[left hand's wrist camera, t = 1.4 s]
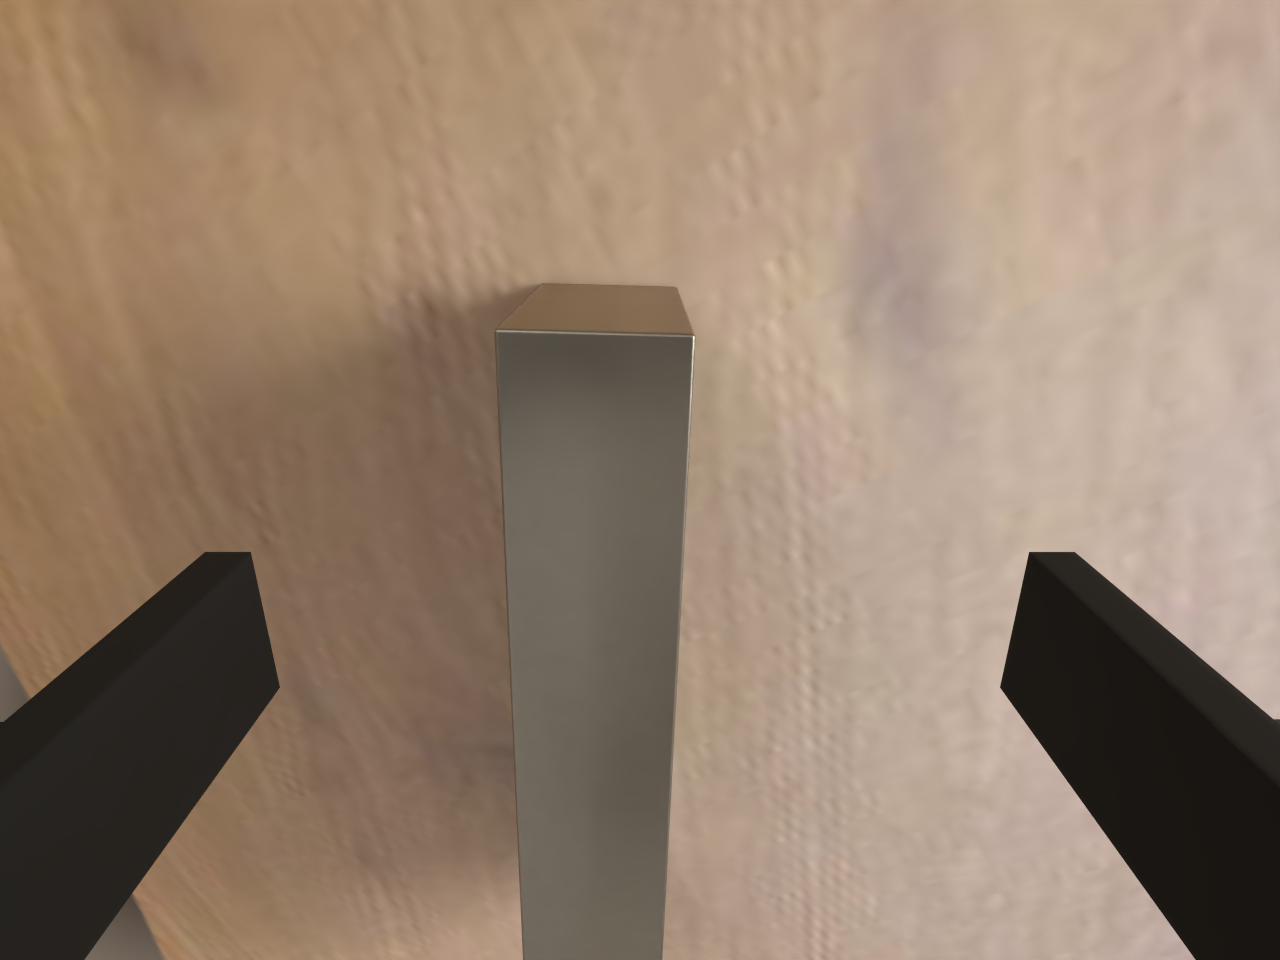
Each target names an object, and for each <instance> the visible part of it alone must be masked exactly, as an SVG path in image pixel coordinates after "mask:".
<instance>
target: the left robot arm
mask: <svg viewBox="0 0 1280 960" xmlns="http://www.w3.org/2000/svg"><path fill="white" fill-rule="evenodd" d="M279 688H280V686H279V681H278V677H277V672H276V667H275V663H274V658H273V653H272V649H271V644H270V639H269V635H268V630H267V626H266V621H265V616H264V612H263V607H262V602H261V598H260V593H259V588H258V584H257V579H256V574H255V570H254V565H253V560H252V556H251V552H205V553H204V554H202V555H201V556H200V557H199V558H198V559H197V560H195V561H194V562H193V563H192V564H191V565H189V566H188V567H187V568H186V569H185V570H183V571H182V572H181V573H180V574H179V575H178V576H176V577H175V578H174V579H173V580H172V581H170V582H169V583H168V584H167V585H166V586H164V587H163V588H162V589H161V590H160V591H159V592H157V593H156V594H155V595H154V596H153V597H151V598H150V599H149V600H148V601H147V602H145V603H144V604H143V605H142V606H141V607H140V608H138V609H137V610H136V611H135V612H134V613H132V614H131V615H130V616H129V617H128V618H126V619H125V620H124V621H123V622H122V623H121V624H119V625H118V626H117V627H116V628H115V629H113V630H112V631H111V632H110V633H109V634H107V635H106V636H105V637H104V638H103V639H102V640H100V641H99V642H98V643H97V644H96V645H94V646H93V647H92V648H91V649H90V650H88V651H87V652H86V653H85V654H84V655H83V656H81V657H80V658H79V659H78V660H77V661H75V662H74V663H73V664H72V665H71V666H69V667H68V668H67V669H66V670H65V671H64V672H62V673H61V674H60V675H59V676H58V677H56V678H55V679H54V680H53V681H52V682H50V683H49V684H48V685H47V686H46V687H45V688H43V689H42V690H41V691H40V692H39V693H37V694H36V695H35V696H34V697H33V698H31V699H30V700H29V701H28V702H27V703H26V704H24V705H23V706H22V707H21V708H20V709H18V710H17V711H16V712H15V713H14V714H12V715H11V716H10V717H9V718H8V719H7V720H5V721H4V722H0V960H84V959H85V958H86V957H87V955H88V954H89V952H90V951H91V950H92V948H93V947H94V945H95V944H96V943H97V941H98V940H99V938H100V937H101V936H102V934H103V933H104V932H105V930H106V929H107V927H108V926H109V925H110V923H111V922H112V920H113V919H114V918H115V916H116V915H117V913H118V912H119V911H120V909H121V908H122V906H123V905H124V904H125V902H126V901H127V900H128V898H129V897H130V895H131V894H132V893H133V891H134V890H135V888H136V887H137V886H138V884H139V883H140V881H141V880H142V879H143V877H144V876H145V874H146V873H147V872H148V870H149V869H150V868H151V866H152V865H153V863H154V862H155V861H156V859H157V858H158V856H159V855H160V854H161V852H162V851H163V849H164V848H165V847H166V845H167V844H168V842H169V841H170V840H171V838H172V837H173V835H174V834H175V833H176V831H177V830H178V829H179V827H180V826H181V824H182V823H183V822H184V820H185V819H186V817H187V816H188V815H189V813H190V812H191V810H192V809H193V808H194V806H195V805H196V803H197V802H198V801H199V799H200V798H201V797H202V795H203V794H204V792H205V791H206V790H207V788H208V787H209V785H210V784H211V783H212V781H213V780H214V778H215V777H216V776H217V774H218V773H219V771H220V770H221V769H222V767H223V766H224V764H225V763H226V762H227V760H228V759H229V758H230V756H231V755H232V753H233V752H234V751H235V749H236V748H237V746H238V745H239V744H240V742H241V741H242V739H243V738H244V737H245V735H246V734H247V732H248V731H249V730H250V728H251V727H252V726H253V724H254V723H255V721H256V720H257V719H258V717H259V716H260V714H261V713H262V712H263V710H264V709H265V707H266V706H267V705H268V703H269V702H270V700H271V699H272V698H273V696H274V695H275V693H276V692H277V691H278V689H279ZM1000 688H1001V689H1002V691H1003V692H1004V693H1005V695H1006V696H1007V698H1008V699H1009V700H1010V702H1011V703H1012V705H1013V706H1014V707H1015V709H1016V710H1017V712H1018V713H1019V714H1020V716H1021V717H1022V719H1023V720H1024V721H1025V723H1026V724H1027V726H1028V727H1029V728H1030V730H1031V731H1032V732H1033V734H1034V735H1035V737H1036V738H1037V739H1038V741H1039V742H1040V744H1041V745H1042V746H1043V748H1044V749H1045V751H1046V752H1047V753H1048V755H1049V756H1050V758H1051V759H1052V760H1053V762H1054V763H1055V764H1056V766H1057V767H1058V769H1059V770H1060V771H1061V773H1062V774H1063V776H1064V777H1065V778H1066V780H1067V781H1068V783H1069V784H1070V785H1071V787H1072V788H1073V790H1074V791H1075V792H1076V794H1077V795H1078V797H1079V798H1080V799H1081V801H1082V802H1083V803H1084V805H1085V806H1086V808H1087V809H1088V810H1089V812H1090V813H1091V815H1092V816H1093V817H1094V819H1095V820H1096V822H1097V823H1098V824H1099V826H1100V827H1101V829H1102V830H1103V831H1104V833H1105V834H1106V835H1107V837H1108V838H1109V840H1110V841H1111V842H1112V844H1113V845H1114V847H1115V848H1116V849H1117V851H1118V852H1119V854H1120V855H1121V856H1122V858H1123V859H1124V861H1125V862H1126V863H1127V865H1128V866H1129V868H1130V869H1131V870H1132V872H1133V873H1134V874H1135V876H1136V877H1137V879H1138V880H1139V881H1140V883H1141V884H1142V886H1143V887H1144V888H1145V890H1146V891H1147V893H1148V894H1149V895H1150V897H1151V898H1152V900H1153V901H1154V902H1155V904H1156V905H1157V906H1158V908H1159V909H1160V911H1161V912H1162V913H1163V915H1164V916H1165V918H1166V919H1167V920H1168V922H1169V923H1170V925H1171V926H1172V927H1173V929H1174V930H1175V932H1176V933H1177V934H1178V936H1179V937H1180V939H1181V940H1182V941H1183V943H1184V944H1185V945H1186V947H1187V948H1188V950H1189V951H1190V952H1191V954H1192V955H1193V957H1194V958H1195V959H1196V960H1280V719H1272V718H1271V717H1270V716H1269V715H1268V714H1266V713H1265V712H1264V711H1263V710H1262V709H1260V708H1259V707H1258V706H1257V705H1256V704H1254V703H1253V702H1252V701H1251V700H1250V699H1249V698H1247V697H1246V696H1245V695H1244V694H1243V693H1241V692H1240V691H1239V690H1238V689H1237V688H1235V687H1234V686H1233V685H1232V684H1231V683H1230V682H1228V681H1227V680H1226V679H1225V678H1224V677H1222V676H1221V675H1220V674H1219V673H1218V672H1216V671H1215V670H1214V669H1213V668H1212V667H1211V666H1209V665H1208V664H1207V663H1206V662H1205V661H1203V660H1202V659H1201V658H1200V657H1199V656H1197V655H1196V654H1195V653H1194V652H1193V651H1192V650H1190V649H1189V648H1188V647H1187V646H1186V645H1184V644H1183V643H1182V642H1181V641H1180V640H1178V639H1177V638H1176V637H1175V636H1174V635H1173V634H1171V633H1170V632H1169V631H1168V630H1167V629H1165V628H1164V627H1163V626H1162V625H1161V624H1159V623H1158V622H1157V621H1156V620H1155V619H1154V618H1152V617H1151V616H1150V615H1149V614H1148V613H1146V612H1145V611H1144V610H1143V609H1142V608H1140V607H1139V606H1138V605H1137V604H1136V603H1135V602H1133V601H1132V600H1131V599H1130V598H1129V597H1127V596H1126V595H1125V594H1124V593H1123V592H1121V591H1120V590H1119V589H1118V588H1117V587H1116V586H1114V585H1113V584H1112V583H1111V582H1110V581H1108V580H1107V579H1106V578H1105V577H1104V576H1102V575H1101V574H1100V573H1099V572H1098V571H1097V570H1095V569H1094V568H1093V567H1092V566H1091V565H1089V564H1088V563H1087V562H1086V561H1085V560H1083V559H1082V558H1081V557H1080V556H1079V555H1078V554H1076V553H1075V552H1029V556H1028V560H1027V565H1026V570H1025V574H1024V579H1023V584H1022V588H1021V593H1020V598H1019V602H1018V607H1017V612H1016V616H1015V621H1014V626H1013V630H1012V635H1011V639H1010V644H1009V649H1008V653H1007V658H1006V663H1005V667H1004V672H1003V677H1002V681H1001V686H1000Z"/></svg>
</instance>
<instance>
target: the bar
mask: <svg viewBox="0 0 1280 960" xmlns="http://www.w3.org/2000/svg"><path fill="white" fill-rule="evenodd" d="M694 352H695V335H694V332H693V330H692V327H691V324H690V322H689V319H688V316H687V314H686V311H685V308H684V306H683V303H682V300H681V298H680V295H679V292H678V290H677V288H676V287H659V286H622V285H584V284H546V283H543V284H541V285H540V286H539V287H538V288H537V289H536V290H535V291H534V292H533V293H532V294H531V295H530V296H529V297H528V298H527V299H526V300H525V301H524V302H523V303H522V304H521V305H520V306H519V307H518V308H517V309H516V310H515V311H514V312H513V313H512V314H511V315H510V316H509V317H508V318H507V319H506V320H505V321H504V322H503V323H502V324H501V325H500V326H499V327H498V328H497V329H496V330H495V353H496V375H497V397H498V419H499V441H500V462H501V484H502V506H503V528H504V550H505V572H506V594H507V616H508V638H509V660H510V682H511V704H512V726H513V748H514V770H515V792H516V814H517V836H518V857H519V879H520V901H521V923H522V945H523V960H662V955H663V936H664V917H665V898H666V880H667V861H668V842H669V823H670V804H671V785H672V767H673V748H674V729H675V710H676V691H677V672H678V654H679V635H680V616H681V597H682V578H683V559H684V541H685V522H686V503H687V484H688V465H689V447H690V428H691V409H692V390H693V371H694Z"/></svg>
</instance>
